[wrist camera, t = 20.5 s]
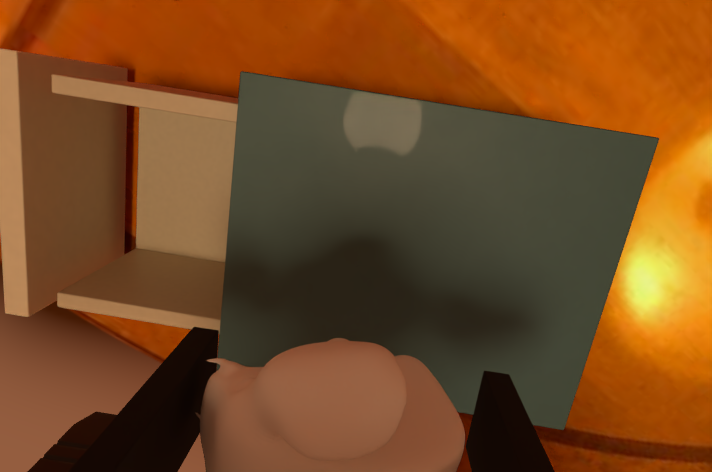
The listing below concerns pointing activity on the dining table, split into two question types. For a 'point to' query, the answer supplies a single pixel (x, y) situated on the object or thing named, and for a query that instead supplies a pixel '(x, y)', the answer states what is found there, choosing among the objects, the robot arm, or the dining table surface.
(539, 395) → the cabinet
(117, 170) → the drawer
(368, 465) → the elephant figurine
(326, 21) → the dining table surface
